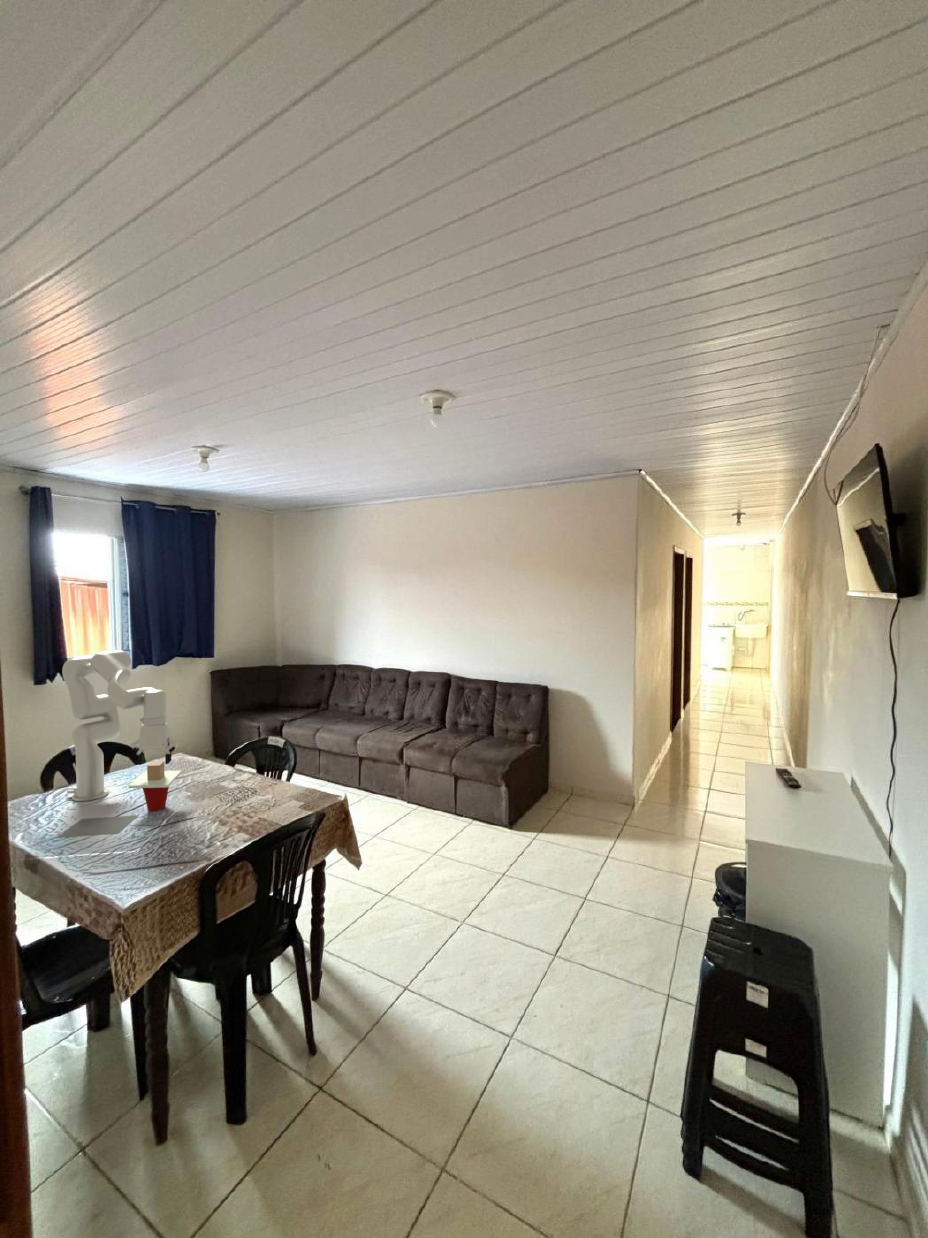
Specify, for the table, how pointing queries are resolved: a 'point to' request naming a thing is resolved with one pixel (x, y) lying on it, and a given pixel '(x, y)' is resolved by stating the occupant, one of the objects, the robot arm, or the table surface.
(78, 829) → the mat
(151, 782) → the lid
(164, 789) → the plastic cup
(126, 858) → the table surface
